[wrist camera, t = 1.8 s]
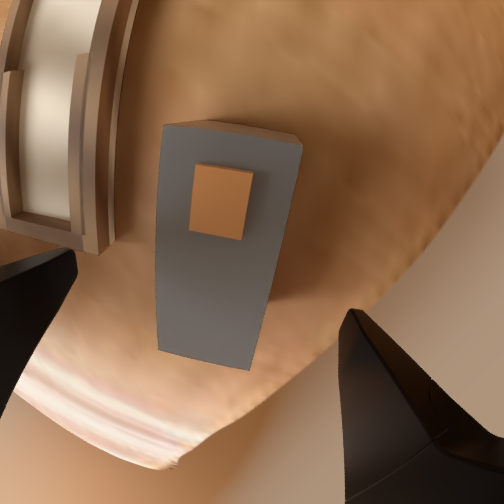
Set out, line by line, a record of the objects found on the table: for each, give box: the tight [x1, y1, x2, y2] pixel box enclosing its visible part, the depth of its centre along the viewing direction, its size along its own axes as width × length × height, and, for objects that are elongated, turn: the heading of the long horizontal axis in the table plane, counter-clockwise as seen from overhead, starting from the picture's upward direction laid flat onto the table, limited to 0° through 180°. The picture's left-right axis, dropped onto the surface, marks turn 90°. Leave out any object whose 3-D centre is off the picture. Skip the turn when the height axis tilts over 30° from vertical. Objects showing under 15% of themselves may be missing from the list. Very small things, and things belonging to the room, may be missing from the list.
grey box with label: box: [155, 120, 304, 371], centre depth 12 cm, size 9×4×5 cm, turn 170°
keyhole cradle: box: [0, 0, 139, 256], centre depth 10 cm, size 20×9×2 cm, turn 170°
